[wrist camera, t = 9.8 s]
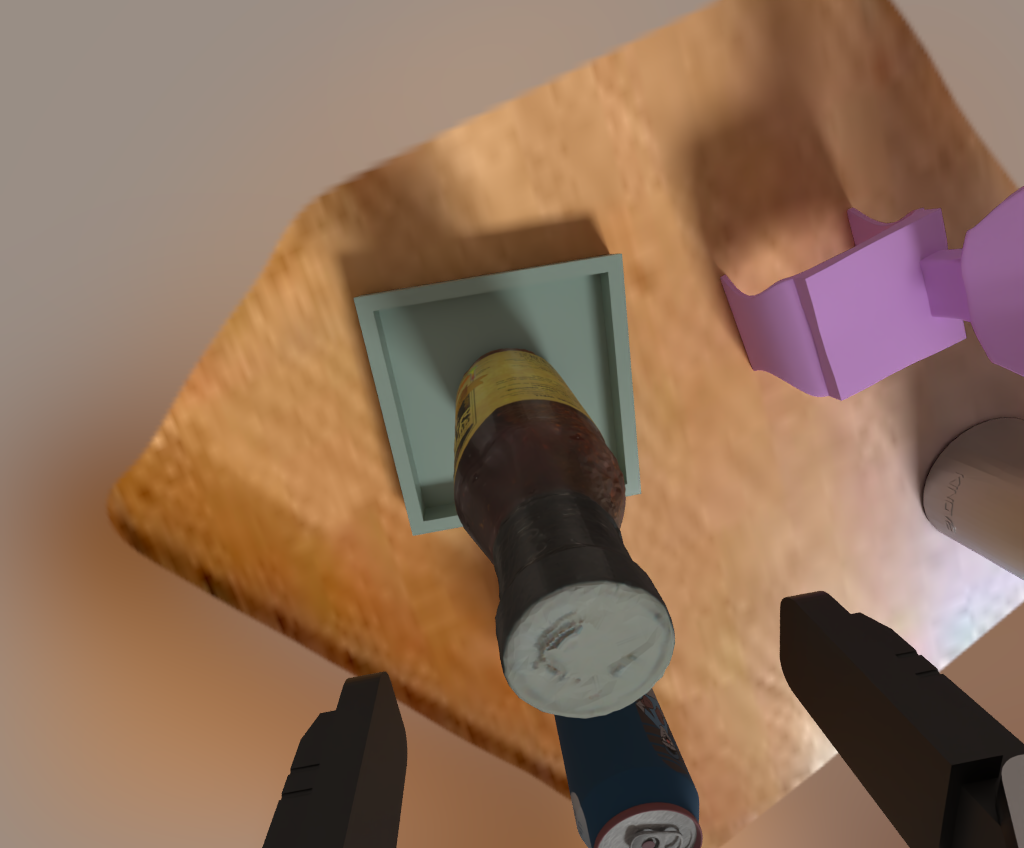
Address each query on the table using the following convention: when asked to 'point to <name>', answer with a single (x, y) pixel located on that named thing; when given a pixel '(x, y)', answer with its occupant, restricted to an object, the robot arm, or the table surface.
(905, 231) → the chair
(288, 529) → the table surface
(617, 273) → the tray
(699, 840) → the soda can
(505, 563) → the sauce bottle
